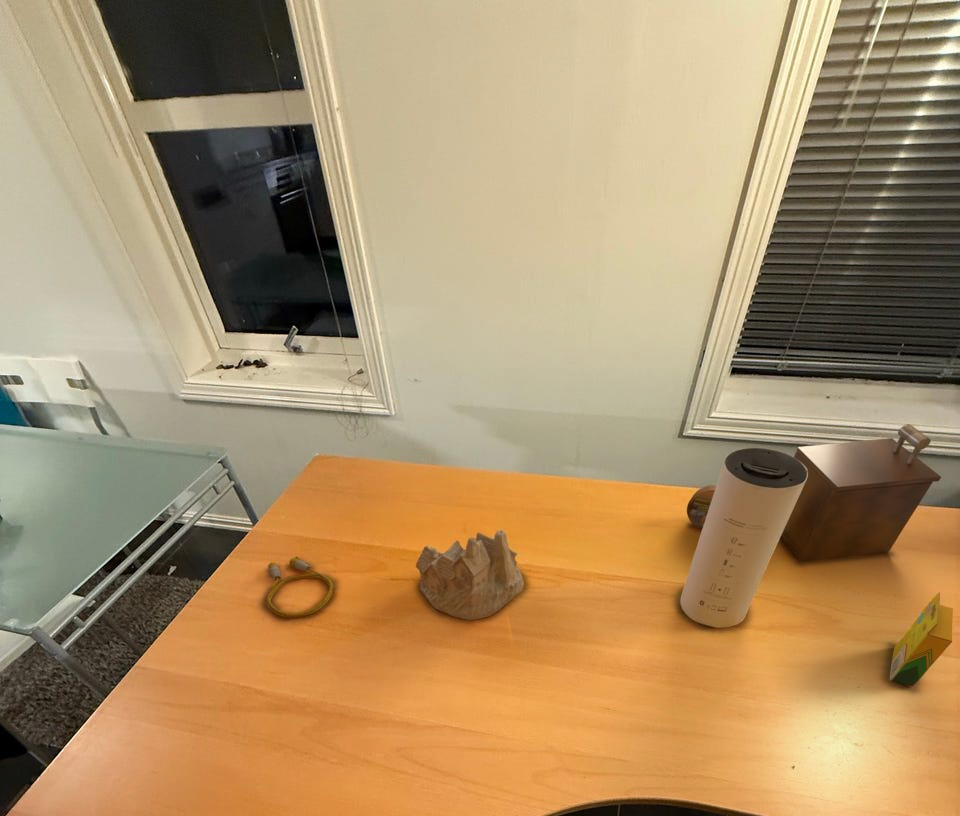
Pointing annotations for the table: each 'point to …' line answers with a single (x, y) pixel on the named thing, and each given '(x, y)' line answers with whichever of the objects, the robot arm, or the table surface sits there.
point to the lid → (871, 462)
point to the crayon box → (922, 643)
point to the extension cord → (299, 565)
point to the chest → (848, 518)
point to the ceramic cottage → (471, 576)
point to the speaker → (741, 534)
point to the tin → (700, 505)
